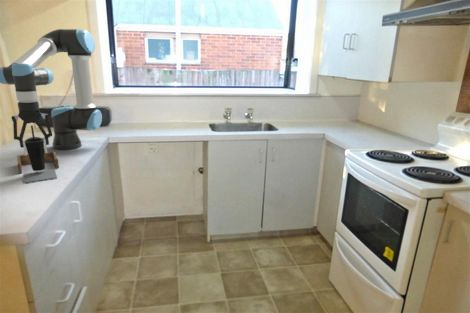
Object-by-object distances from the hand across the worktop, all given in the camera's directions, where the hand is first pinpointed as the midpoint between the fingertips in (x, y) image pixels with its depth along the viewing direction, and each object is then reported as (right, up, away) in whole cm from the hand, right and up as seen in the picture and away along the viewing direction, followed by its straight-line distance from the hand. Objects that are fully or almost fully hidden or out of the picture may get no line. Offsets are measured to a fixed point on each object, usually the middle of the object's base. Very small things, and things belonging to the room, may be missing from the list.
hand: (36, 153), depth 144 cm
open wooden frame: (-6, -6, +12) cm, 15 cm away
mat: (+2, -10, -1) cm, 11 cm away
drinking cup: (0, -7, +2) cm, 8 cm away
